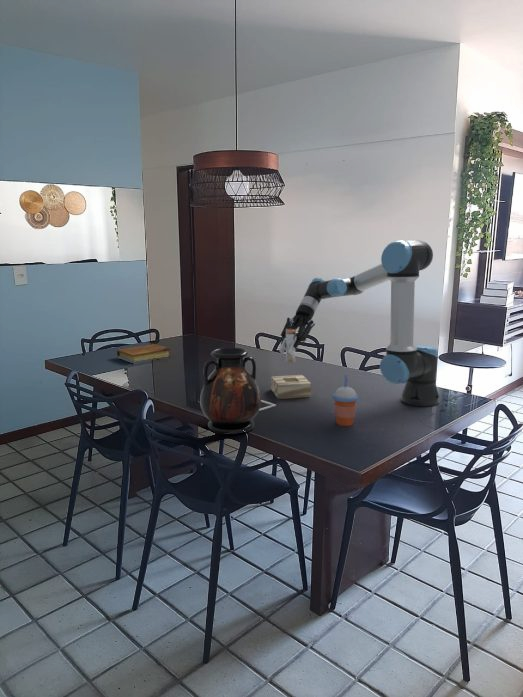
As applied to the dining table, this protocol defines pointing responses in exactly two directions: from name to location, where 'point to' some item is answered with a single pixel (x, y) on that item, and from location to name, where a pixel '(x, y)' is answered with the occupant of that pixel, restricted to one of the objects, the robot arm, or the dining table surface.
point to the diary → (144, 352)
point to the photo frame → (268, 406)
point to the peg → (289, 339)
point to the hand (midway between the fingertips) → (285, 352)
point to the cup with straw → (345, 405)
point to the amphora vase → (230, 392)
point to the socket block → (290, 386)
